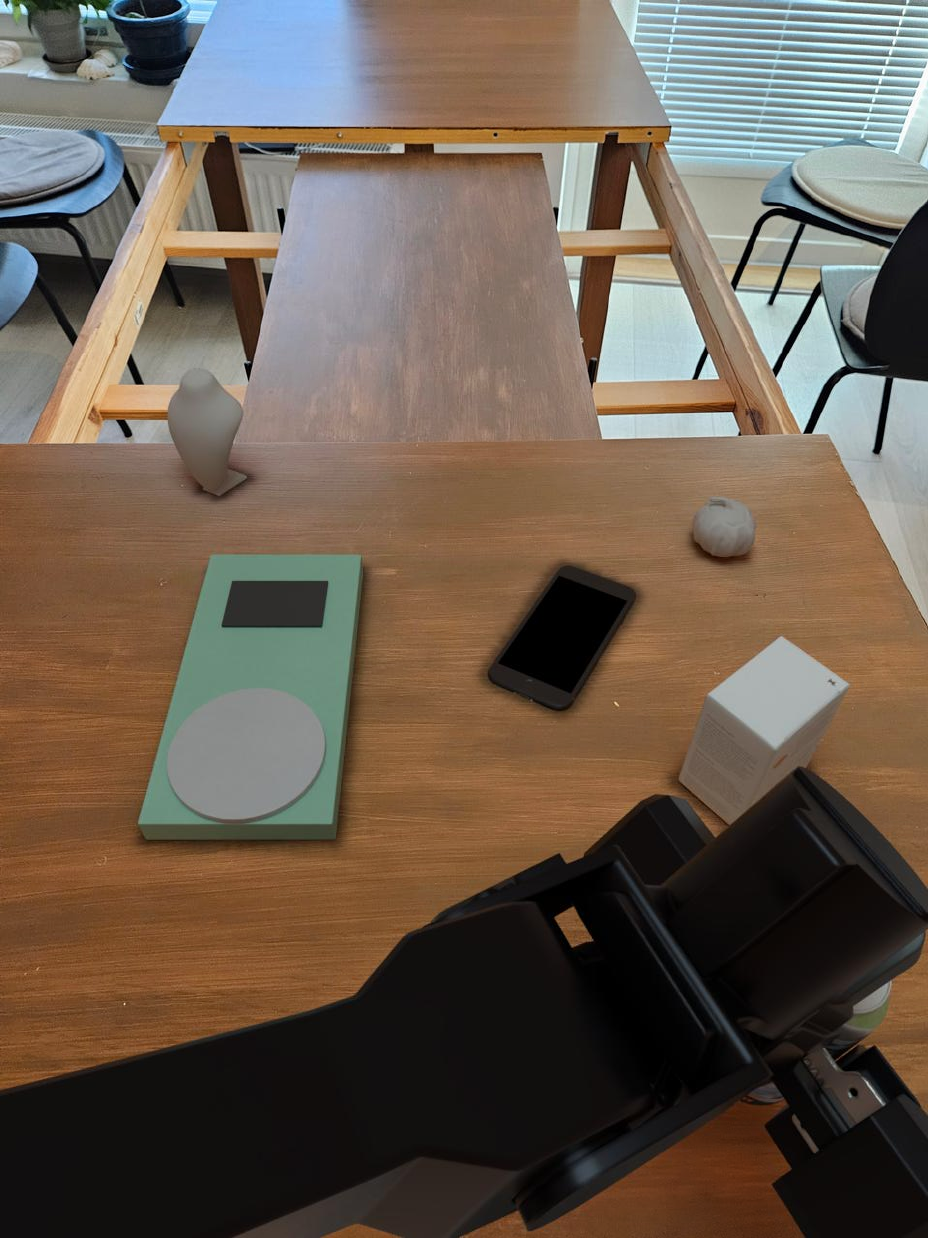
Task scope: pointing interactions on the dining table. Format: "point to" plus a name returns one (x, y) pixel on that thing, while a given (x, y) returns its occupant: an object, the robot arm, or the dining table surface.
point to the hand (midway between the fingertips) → (813, 994)
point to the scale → (260, 703)
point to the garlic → (724, 527)
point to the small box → (760, 727)
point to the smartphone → (562, 638)
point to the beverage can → (837, 1040)
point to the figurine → (205, 429)
